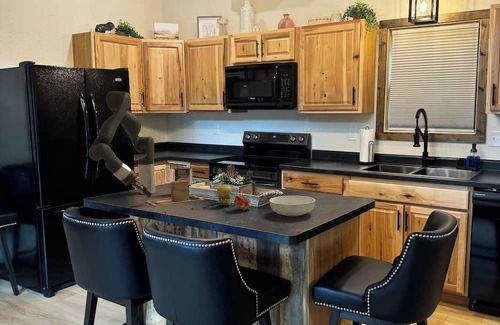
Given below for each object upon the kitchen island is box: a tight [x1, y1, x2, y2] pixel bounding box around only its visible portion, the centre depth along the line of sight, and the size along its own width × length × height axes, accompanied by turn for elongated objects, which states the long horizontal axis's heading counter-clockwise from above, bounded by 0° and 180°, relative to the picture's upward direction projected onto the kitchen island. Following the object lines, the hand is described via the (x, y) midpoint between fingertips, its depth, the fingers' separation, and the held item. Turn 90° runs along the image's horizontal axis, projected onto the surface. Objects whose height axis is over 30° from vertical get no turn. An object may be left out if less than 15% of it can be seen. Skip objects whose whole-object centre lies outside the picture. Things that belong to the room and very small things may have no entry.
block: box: [170, 180, 190, 202], centre depth 237 cm, size 5×8×10 cm, turn 121°
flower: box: [232, 193, 253, 212], centre depth 219 cm, size 10×9×8 cm
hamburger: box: [216, 183, 233, 206], centre depth 228 cm, size 8×7×12 cm
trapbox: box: [145, 194, 206, 207], centre depth 236 cm, size 14×27×2 cm, turn 121°
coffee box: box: [174, 166, 193, 186], centre depth 257 cm, size 9×6×16 cm
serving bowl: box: [269, 195, 316, 217], centre depth 208 cm, size 21×21×7 cm
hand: (150, 195), depth 229 cm, fingers closed
